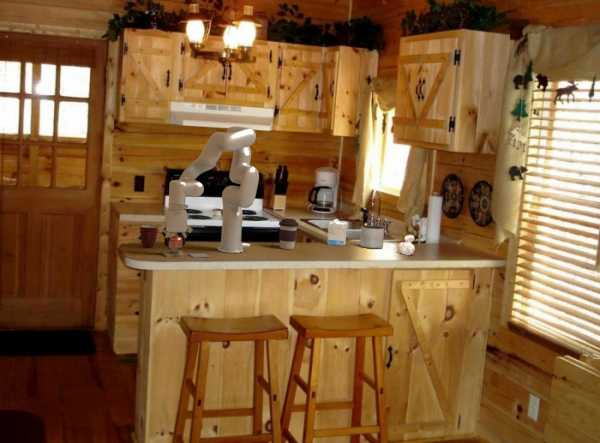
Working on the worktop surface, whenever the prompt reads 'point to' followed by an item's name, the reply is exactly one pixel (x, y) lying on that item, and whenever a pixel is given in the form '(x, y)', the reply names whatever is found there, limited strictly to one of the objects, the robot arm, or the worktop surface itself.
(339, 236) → the ink box
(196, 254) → the mat
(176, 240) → the orange round piece
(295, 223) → the coffee cup
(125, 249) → the worktop surface
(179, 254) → the post base
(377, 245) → the planter
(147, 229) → the mug
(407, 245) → the duck figurine
